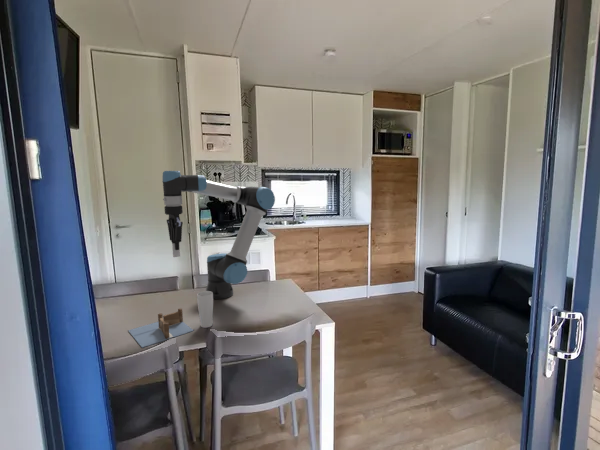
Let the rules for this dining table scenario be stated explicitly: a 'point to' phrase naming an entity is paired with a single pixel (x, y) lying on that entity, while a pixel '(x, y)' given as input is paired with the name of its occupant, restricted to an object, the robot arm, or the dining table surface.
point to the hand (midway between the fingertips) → (176, 256)
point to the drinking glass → (205, 308)
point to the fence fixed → (174, 317)
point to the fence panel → (163, 325)
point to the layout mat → (157, 333)
